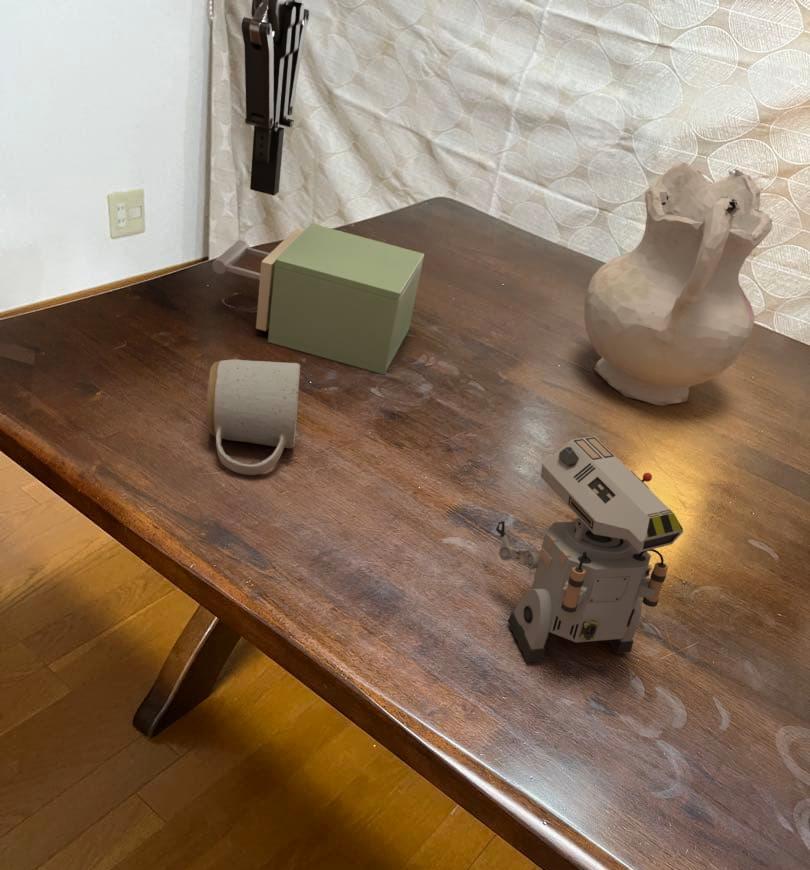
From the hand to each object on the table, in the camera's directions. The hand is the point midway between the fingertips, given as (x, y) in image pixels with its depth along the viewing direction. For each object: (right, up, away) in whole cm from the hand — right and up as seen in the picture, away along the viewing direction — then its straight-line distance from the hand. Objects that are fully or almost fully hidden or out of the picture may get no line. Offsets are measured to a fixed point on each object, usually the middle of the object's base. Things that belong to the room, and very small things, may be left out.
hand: (264, 190), depth 92 cm
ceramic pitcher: (+44, -19, +13) cm, 50 cm away
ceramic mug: (+1, -29, -12) cm, 31 cm away
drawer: (+3, -11, +8) cm, 14 cm away
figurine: (+27, -44, -23) cm, 57 cm away
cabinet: (+8, -14, +8) cm, 18 cm away
